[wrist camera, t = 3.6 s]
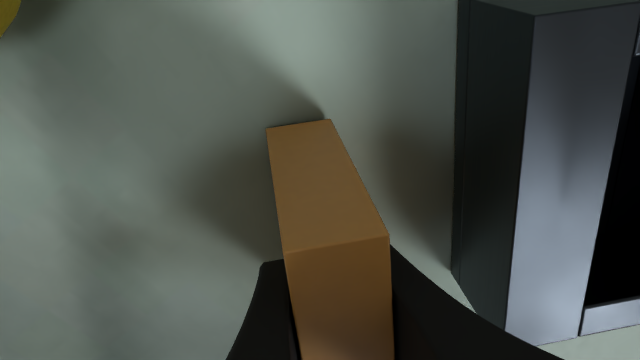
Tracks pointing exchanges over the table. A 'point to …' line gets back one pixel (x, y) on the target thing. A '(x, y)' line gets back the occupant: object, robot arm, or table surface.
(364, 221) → the toast
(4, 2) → the lemon
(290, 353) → the robot arm
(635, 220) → the toaster
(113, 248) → the table surface
